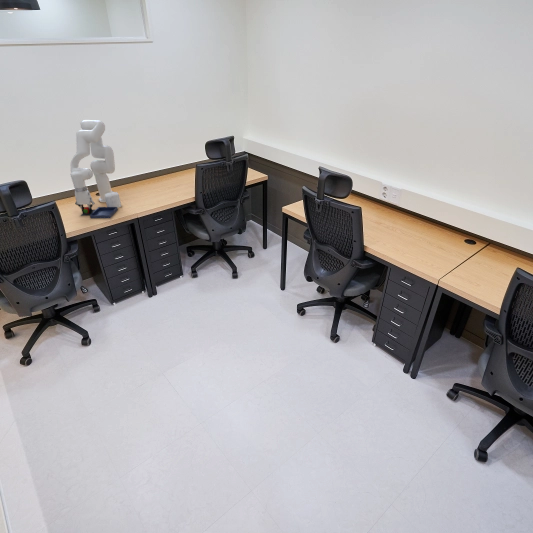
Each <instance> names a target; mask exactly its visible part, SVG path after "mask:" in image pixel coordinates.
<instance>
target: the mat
mask: <svg viewBox="0 0 533 533" xmlns="http://www.w3.org/2000/svg"><path fill="white" fill-rule="evenodd" d="M95 210H96V209H92V213H93V212H94V211H95ZM92 213H83V212H82V214H81V215H80V216H81V217H90V215H91V214H92Z"/></svg>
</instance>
